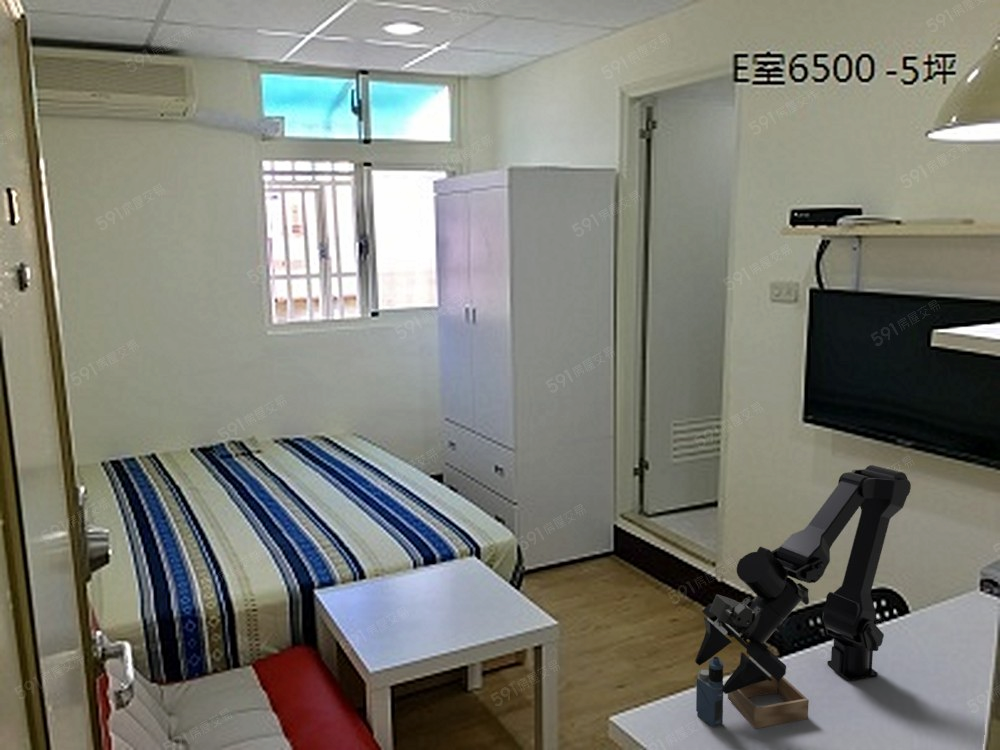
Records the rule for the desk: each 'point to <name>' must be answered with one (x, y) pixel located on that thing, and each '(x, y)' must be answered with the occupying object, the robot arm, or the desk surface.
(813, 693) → the desk surface
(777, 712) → the box
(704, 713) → the vaping device
